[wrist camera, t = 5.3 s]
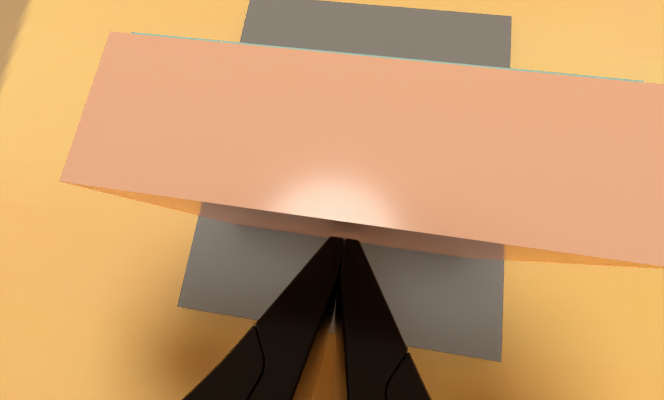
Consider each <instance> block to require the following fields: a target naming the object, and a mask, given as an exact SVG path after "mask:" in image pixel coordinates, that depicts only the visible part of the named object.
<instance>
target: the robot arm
mask: <svg viewBox="0 0 664 400" xmlns="http://www.w3.org/2000/svg"><path fill="white" fill-rule="evenodd" d="M336 297H337V298H336ZM335 304H336V305H335ZM334 310H335V315H334ZM333 315H334V357H333V400H432V399H431V398H430V395H429V393H428V391H427V389H426V387H425V385H424V383H423V381H422V379H421V377H420V375H419V373H418V370H417V368H416V366H415V364H414V361H413V359H412V357H411V355H410V353H407V352H408V348H407V346H406V344H405V342H404V339H403V337H402V335H401V333H400V331H399V328H398V326H397V324H396V322H395V319H394V317H393V315H392V313H391V310H390V308H389V306H388V304H387V301H386V299H385V297H384V295H383V293H382V290H381V288H380V286H379V284H378V281H377V279H376V277H375V275H374V272H373V270H372V268H371V266H370V263H369V261H368V259H367V257H366V255H365V252H364V250H363V248H362V246H361V243H360V242H359V240H356V239H349V238H346V239H345V240H344V238H342V237H335V236H330V237H329V238H328V239H327V240H326V242H325V243H324V244H323V245H322V246H321V247H320V249H319V250H318V251H317V252H316V253H315V254H314V256H313V257H312V258H311V259H310V260H309V261H308V262H307V264H306V265H305V266H304V267H303V268H302V269H301V271H300V272H299V273H298V274H297V275H296V276H295V278H294V279H293V280H292V281H291V282H290V283H289V285H288V286H287V287H286V288H285V289H284V290H283V292H282V293H281V294H280V295H279V296H278V297H277V299H276V300H275V301H274V302H273V303H272V304H271V306H270V307H269V308H268V309H267V310H266V311H265V313H264V314H263V315H262V316H261V317H260V318H259V319H258V321H257V322H256V323H255V326H252V327H251V329H250V330H249V331H248V332H247V333H246V334H245V336H244V337H243V338H242V339H241V340H240V341H239V342H238V343H237V345H236V346H235V347H234V348H233V349H232V350H231V351H230V352H229V353H228V354H227V356H226V357H225V358H224V359H223V360H222V361H221V362H220V363H219V364H218V365H217V366H216V367H215V368H214V369H213V370H212V371H211V372H210V373H209V374H208V375H207V376H206V377H205V378H204V379H203V380H202V381H201V382H200V383H199V384H198V385H197V386H196V387H195V388H194V389H193V390H191V391H190V392H189V393H188V394H187V395H186V396H185V397H184V398H183V399H182V400H311V398H312V395H313V391H314V387H315V384H316V380H317V376H318V372H319V369H320V365H321V361H322V357H323V354H324V350H325V346H326V342H327V339H328V335H329V331H330V327H331V324H332V320H333Z"/></svg>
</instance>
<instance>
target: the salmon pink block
mask: <svg viewBox="0 0 664 400" xmlns="http://www.w3.org/2000/svg"><path fill="white" fill-rule="evenodd" d="M59 182H63V183H68V184H72V185H76V186H80V187H84V188H88V189H92V190H96V191H100V192H104V193H108V194H113V195H117V196H121V197H125V198H129V199H133V200H137V201H141V202H145V203H149V204H153V205H158V206H162V207H166V208H170V209H174V210H178V211H182V212H186V213H190V214H194V215H198V216H203V217H207V218H211V219H215V220H219V221H223V222H227V223H231V224H236V225H243V226H250V227H256V228H263V229H270V230H277V231H284V232H291V233H298V234H304V235H311V236H318V237H325V238H329V237H330V236H335V237H342V238H344V240H345V239H346V238H349V239H356V240H359V242H360V243H366V244H373V245H380V246H387V247H394V248H400V249H407V250H414V251H421V252H428V253H435V254H442V255H448V256H455V257H462V258H478V259H496V260H514V261H533V262H551V263H569V264H588V265H606V266H624V267H643V268H661V269H664V85H663V84H653V83H643V81H638V80H628V79H617V78H607V77H596V76H586V75H575V74H565V73H554V72H544V71H533V70H523V69H512V68H502V67H491V66H481V65H470V64H460V63H449V62H439V61H428V60H418V59H407V58H397V57H386V56H376V55H365V54H355V53H344V52H334V51H323V50H313V49H302V48H292V47H281V46H271V45H260V44H250V43H239V42H229V41H218V40H208V39H197V38H187V37H176V36H166V35H155V34H145V33H134V32H131V34H130V33H119V32H110V34H109V37H108V40H107V42H106V45H105V48H104V51H103V54H102V57H101V60H100V63H99V66H98V69H97V72H96V75H95V78H94V81H93V84H92V87H91V90H90V93H89V96H88V99H87V101H86V104H85V107H84V110H83V113H82V116H81V119H80V122H79V125H78V128H77V131H76V134H75V137H74V140H73V143H72V146H71V149H70V152H69V155H68V158H67V160H66V163H65V166H64V169H63V172H62V175H61V178H60V181H59Z"/></svg>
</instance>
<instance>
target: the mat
mask: <svg viewBox="0 0 664 400" xmlns="http://www.w3.org/2000/svg"><path fill="white" fill-rule="evenodd" d="M511 17H512V16H501V15H489V14H477V13H465V12H452V11H440V10H428V9H416V8H403V7H391V6H379V5H367V4H354V3H342V2H330V1H318V0H250V2H249V6H248V10H247V14H246V19H245V23H244V27H243V31H242V35H241V40H240V43H250V44H260V45H271V46H281V47H292V48H302V49H313V50H323V51H334V52H344V53H355V54H365V55H376V56H386V57H397V58H407V59H418V60H428V61H439V62H449V63H460V64H470V65H481V66H491V67H502V68H510V50H511ZM327 239H328V238H325V237H318V236H311V235H304V234H298V233H291V232H284V231H277V230H270V229H263V228H256V227H250V226H243V225H236V224H231V223H227V222H223V221H219V220H215V219H211V218H207V217H203V216H199V217H198V221H197V225H196V230H195V234H194V238H193V242H192V246H191V251H190V255H189V259H188V263H187V267H186V272H185V276H184V280H183V284H182V289H181V293H180V297H179V301H178V305H177V307H183V308H188V309H194V310H200V311H206V312H212V313H218V314H223V315H229V316H235V317H241V318H247V319H253V320H258V319H259V318H260V317H261V316H262V315H263V314H264V313H265V311H266V310H267V309H268V308H269V307H270V306H271V304H272V303H273V302H274V301H275V300H276V299H277V297H278V296H279V295H280V294H281V293H282V292H283V290H284V289H285V288H286V287H287V286H288V285H289V283H290V282H291V281H292V280H293V279H294V278H295V276H296V275H297V274H298V273H299V272H300V271H301V269H302V268H303V267H304V266H305V265H306V264H307V262H308V261H309V260H310V259H311V258H312V257H313V256H314V254H315V253H316V252H317V251H318V250H319V249H320V247H321V246H322V245H323V244H324V243H325V242H326V240H327ZM361 246H362V248H363V250H364V252H365V255H366V257H367V259H368V261H369V263H370V266H371V268H372V270H373V272H374V275H375V277H376V279H377V281H378V284H379V286H380V288H381V290H382V293H383V295H384V297H385V299H386V301H387V304H388V306H389V308H390V310H391V313H392V315H393V317H394V319H395V322H396V324H397V326H398V328H399V331H400V333H401V335H402V337H403V339H404V342H405V344H406V346H410V347H416V348H422V349H428V350H433V351H439V352H445V353H451V354H457V355H463V356H468V357H474V358H480V359H486V360H492V361H498V362H501V350H502V316H503V283H504V260H496V259H478V258H462V257H455V256H448V255H442V254H435V253H428V252H421V251H414V250H407V249H400V248H394V247H387V246H380V245H373V244H366V243H361ZM336 298H337V297H336ZM335 305H336V304H335ZM334 315H335V310H334ZM334 315H333V320H332V324H331V327H330V331H329V333H334Z"/></svg>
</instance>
